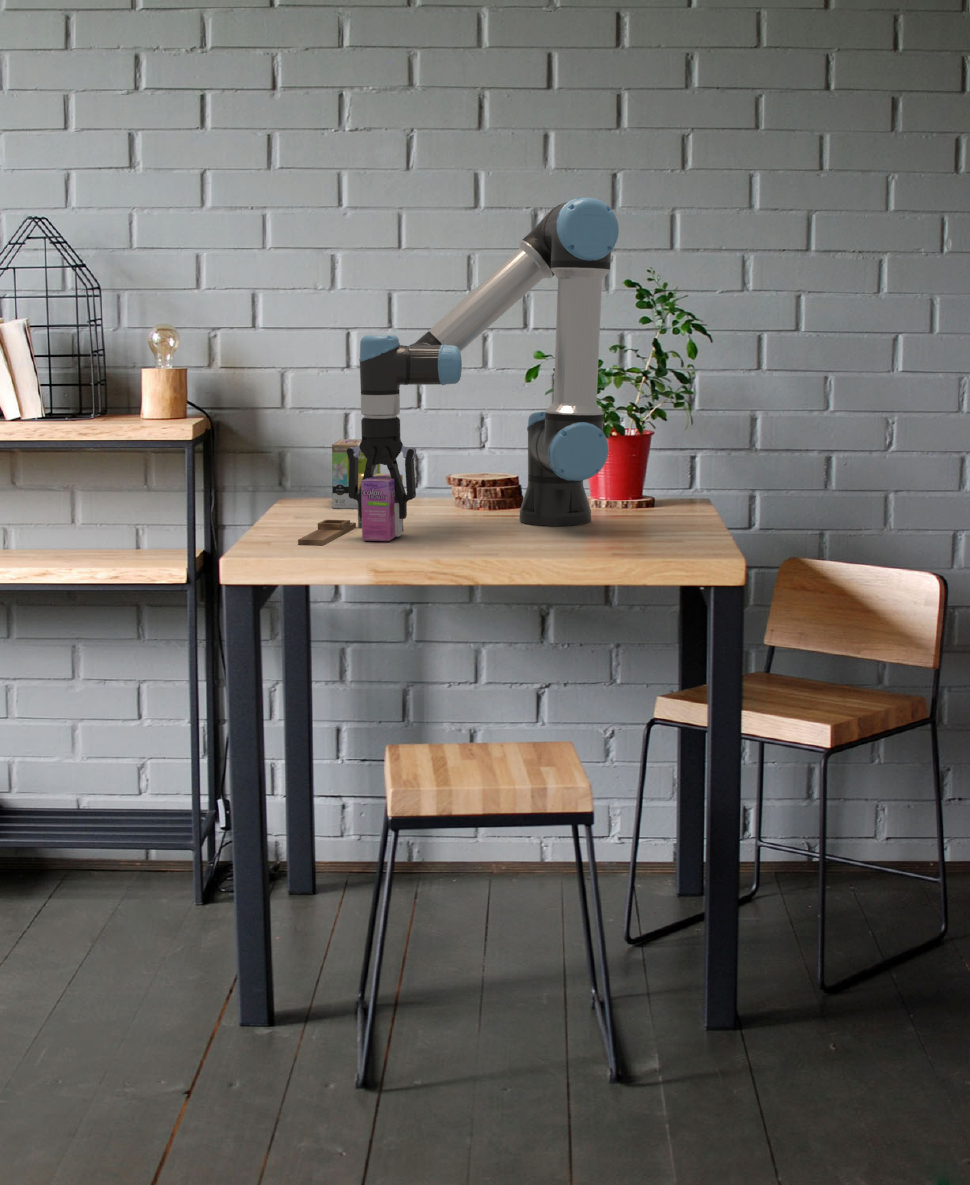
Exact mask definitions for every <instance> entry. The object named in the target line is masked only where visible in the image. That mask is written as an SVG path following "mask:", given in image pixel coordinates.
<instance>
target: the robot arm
mask: <svg viewBox="0 0 970 1185" xmlns="http://www.w3.org/2000/svg"><path fill="white" fill-rule="evenodd" d="M616 216H617V215H616V214H615V213H614V211H613V210H612V208H611V207H610V206H609V205H608V204H607V203H606V202H604V201H602V200H601V199H598V198H595V197H594V198H593V197H586V196H585V197H577V198H573V199H571V200H569V201H566V202H563V203H560V204H557V205H556V206H554V207H553V208H552V209H551V210H550V211H549V212H548V213H547V214H545V216H544V217H543V218H542V219H541V220H540V222H538V224H537V225H536V226H534V228H533V229H532V230H531V231H530V232H529V233H528V234H527V235H526V236H525V237H524V238H522V239H521V240H520V242H519V249H518V250H517V251H516V252H514V253H513V254H512V255H511V256H510V257H508V258H507V259H506V261H504V262H503V263H502V264H501V265H500V266H499V267H498V268H497V269H496V270H494V271H493V272H492V273H491V274H490V275H489V276H488V277H487V278H486V279H484V280H483V281H482V282H481V283H480V284H479V285H478V286H477V287H475V288H474V289H473V290H472V291H471V292H470V293H468V295H467V296H465V297H464V298H462V300H461V301H460V302H458V304H457V305H455V306H453V308H452V309H451V310H450V311H448V312H447V314H445V315H444V316H443V317H442V318H441V319H440V320H439V321H437V323H435V324H434V325H433V326H432V327H431V328H430V329H429V330H428V331H427V332H425V333H424V334H423V335H422V336H421V337H420V338H419V339H418V340H416V341H415V342H413V343H411V344H409V345H403V344H401V343H400V339H399V337H398V336H397V335H395V334H393V335H391V334H388V335H387V334H385V335H381V334H380V335H379V334H378V335H376V334H375V335H374V334H373V335H372V334H371V335H364V336H363V337H362V338H361V339H360V344H359V361H358V362H359V376H360V377H359V379H360V414H361V415H362V416H363V417H361V418H362V419H360V421H361V422H360V424H361V439H362V440H361V443H360V445H359V446H357V447H351V448H348V449H347V451H346V452H347V455H348V458H349V498H351V499H355V500H357V501H358V509H357V513H358V512H359V518H362V499H361V487H360V491H359V493H358V467H359V460H358V457H359V456H360V451H362V453H363V454H364V455H365V457H366V458H367V462H366V466H365V472H364V476H363V480H364V479H367V478H370V477H372V476H373V473H374V469H375V467H376V465H378V464H380V465H383V466H386V467H387V470H388V472H389V474H390V475H391V478H392V479H394V483H395V492H396V495H397V498H398V501H397V502H396V503H394V506H395V536H396V537H400V536H402V535H403V532H402V519H403V520H405V519H407V515H408V512H407V510H408V509H407V504H408V502H409V501H411V500H414V499H415V498H416V497H417V490H416V471H415V457H416V454H417V449H416V448H414V447H412V448H410V447H408V446H405V445H404V443H403V442H402V440H401V439H402V438H401V418H400V417H398V415H400V413H401V404H400V403H401V402H400V399H401V397H400V396H401V395H400V391H401V390H400V387H401V385H402V386H408V385H410V386H411V385H417V386H420V385H421V386H422V385H423V386H424V385H426V386H427V385H428V386H430V385H432V386H433V385H435V386H436V385H437V386H438V385H441V386H445V385H454V384H458V383H459V382H460V380H461V377H462V371H463V370H462V367H463V366H462V363H463V362H462V353H461V352H462V351H463V350H464V349H466V348H467V347H468V346H469V345H470V344H471V343H472V342H473V341H475V340H476V339H477V338H478V337H479V336H480V335H482V333H484V332H485V331H486V330H487V329H488V328H489V327H490V326H491V325H492V324H493V323H495V322H496V321H497V320H498V319H499V318H500V317H502V316H503V315H504V314H505V313H506V312H507V311H508V310H510V309H511V307H513V306H514V305H515V304H516V303H517V302H519V301H520V300H521V299H522V298H523V297H524V296H525V295H526V294H527V293H529V292H530V291H531V290H532V289H533V288H534V287H535V286H536V285H538V284H539V283H540V282H541V281H542V280H543V279H552V278H553V277H554V276H555V277H556V278H557V296H556V298H557V299H556V324H555V352H554V375H553V376H554V379H553V398H552V399H553V402H552V403H551V404H550V406H548V408H546V409H545V410H544V411H537V412H532V413H531V414H530V415H529V417H528V419H527V420H528V422H527V427H526V431H527V487H526V491H525V493H524V496H523V500H522V502H521V505H520V509H519V521H520V522H521V523H523V524H527V525H535V526H536V525H537V526H550V527H551V526H552V527H553V526H554V527H556V526H558V527H559V526H563V527H565V526H575V525H576V526H577V525H584V524H588V523H590V522H591V521H592V509H591V506H590V503H589V499H588V496H587V494H586V490H585V487H584V481H585V480H588V479H591V478H593V477H595V476H596V475H597V474H598V473H599V472H601V470H602V469H603V468H604V466H605V465H606V463H607V460H608V458H609V450H610V449H609V442H608V439H607V437H606V435H605V433H604V419H605V418H604V417H605V416H604V411H603V410H602V408H600V406H598V401H597V398H598V381H599V380H598V377H599V375H598V374H599V359H600V358H599V357H600V356H599V354H600V334H601V333H600V332H601V331H600V330H601V313H602V312H601V310H602V309H601V308H602V292H603V291H602V286H603V279H604V278H606V276H607V275H608V274H609V273H610V272H611V260H612V259H611V258H612V251H613V250H614V248H615V246H616V244H617V242H618V239H619V233H620V232H619V230H620V226H619V222H618V218H617V217H616ZM401 453H402V457H403V458H404V469H405V486H406V490H405V486H404V482H403V483H402V479H401V476H400V475H401V473H400V470H399V464H398V460H397V458H398V456H399V455H400V454H401Z"/></svg>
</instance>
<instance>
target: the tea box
mask: <svg viewBox="0 0 970 1185" xmlns="http://www.w3.org/2000/svg"><path fill="white" fill-rule="evenodd" d="M361 440H362V438H360V439H359V438H358V439H355V438H353V439H352V438H351V439H349V438H347V439H339V440H337V441H336V442H334V443H333V444H332V445H331V458H332V459H331V478H332V480H331V482H332V484H331V485H332V486H331V487H332V488H331V490H332V492H331V494H332V495H331V496H332V497H331V502H332V504H331V505H332V508H333V509H347V510H348V509H357V510H358V506H357V500H355V499H351V498H349V458H348V455H347V452H346V451H347V449H348V448H351V447H357V446H359V445H360V443H361ZM358 460H359V467H358V474H359V473H364V472H365V466H366V462H367V458H366V457H365V455H364V454H363V453H362V451H360V456H359V457H358ZM375 474H381V464H378V465H376V467H375V469H374V473H373V475H375Z"/></svg>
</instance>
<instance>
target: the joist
mask: <svg viewBox="0 0 970 1185" xmlns="http://www.w3.org/2000/svg"><path fill="white" fill-rule="evenodd" d="M356 528H357V523H356V522H351V520H350V519H323V520H322V521H320V522H318V523H317V529H316V530H314V531H312V532H310V533H308V534H306V535H305V536H302V537H300V538H298V539H297V544H298V545H300V546H301V545H302V546H324V545H326V544H328V543H330V542H332V541H334V540H336V539H338V538H339V537H341V536H343V535H345V534H347V533H348V532H350V531H353V530H354V529H356Z"/></svg>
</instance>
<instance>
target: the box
mask: <svg viewBox="0 0 970 1185" xmlns="http://www.w3.org/2000/svg"><path fill="white" fill-rule="evenodd" d="M400 476H401V479H402V483H403V484H404V482H403V480H404V479H403V478H404V477H403V474H400ZM361 499H362V528H361V538H362V541H370V542H390V541H391V540H393V539H395V538H396V537H397V536H395V506H394V503H396V502H397V501H398V498H397V495H396V492H395V483H394V479H392V478H391V475H390V473H380V474H375V475H373V476H372V477H370V478H367V479H364V480H362V481H361ZM403 532H404V519H402V533H403Z"/></svg>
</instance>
